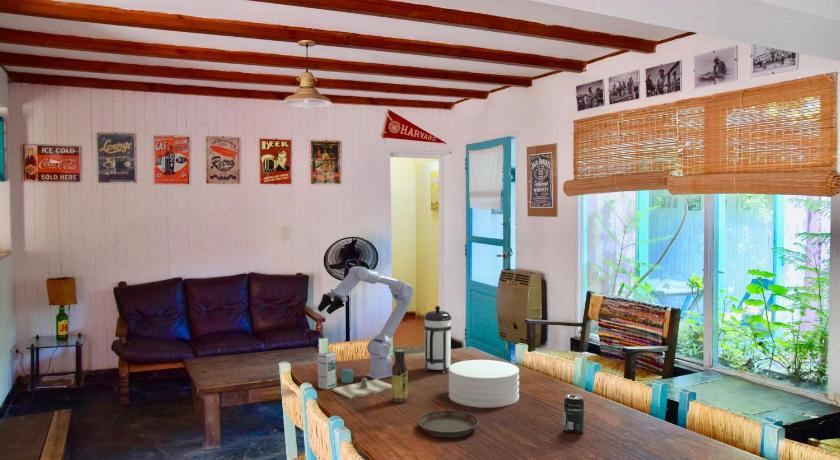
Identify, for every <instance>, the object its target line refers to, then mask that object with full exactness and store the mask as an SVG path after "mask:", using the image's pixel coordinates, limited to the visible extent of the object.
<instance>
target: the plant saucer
mask: <svg viewBox="0 0 840 460" xmlns="http://www.w3.org/2000/svg"><path fill="white" fill-rule="evenodd" d="M417 423H418V425H419V427H420V428H421V430H423V431H424V432H425V433H427V434H428V435H431V436H433V437H439V438H443V439H444V438H451V439H452V438H453V439H454V438H460V437H465V436H466V435H468V434H470V433H472V432H473V431H474V430H475V429H476V428H477V426H478V424H479V419H478V417H477V416H475V415H474V414H472V413H469V412H465V411H460V410H437V411H431V412H427V413H426V414H422V415H421V416H420V417H419V418H418V420H417Z"/></svg>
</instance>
